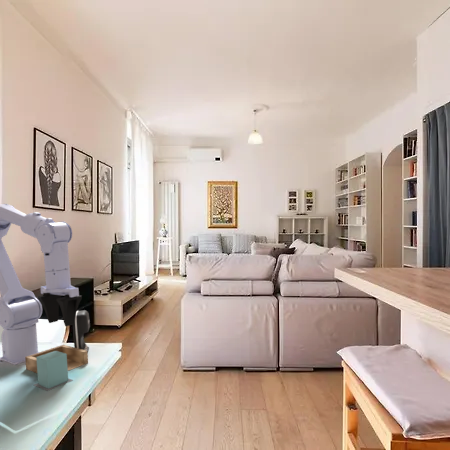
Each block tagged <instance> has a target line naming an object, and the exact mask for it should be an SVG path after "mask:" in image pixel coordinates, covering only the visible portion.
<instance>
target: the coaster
mask: <svg viewBox="0 0 450 450" xmlns="http://www.w3.org/2000/svg"><path fill="white" fill-rule="evenodd" d="M73 381H74V380H73V379H71V378H69V377H68V381H66V382H64V383H61V384H59V385H56V386H54V387H51V388H49V389H48V388H46V387H44V386H41V385H39V384H38V382H37V383H35V384H33V386H34V387H35V388H36V387H37V388H39V389H41V390H43V391H46V392H48V391H50V390H53V389H56V388H59V387H61V386H62V385H65V384H68V383H70V382H73Z"/></svg>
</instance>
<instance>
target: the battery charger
mask: <svg viewBox="0 0 450 450" xmlns="http://www.w3.org/2000/svg"><path fill="white" fill-rule="evenodd" d="M90 322H91V321H90V313H89V311H87V310H85V309H84V310H77V312H76V317H75V322H74V324H73V325H72V333H73V347H74V348H78V349H82V350H86V351H87V353H88V354H89V350H90V346H88V345H87V343H86V342H85V340H84V338H85V337H84V334H86V333H89V330H90V328H91V323H90Z"/></svg>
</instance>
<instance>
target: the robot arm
mask: <svg viewBox="0 0 450 450" xmlns="http://www.w3.org/2000/svg"><path fill="white" fill-rule="evenodd" d="M12 224H13V225H16V226H18V227H20V230H21V232H22V233H23V234H26V235H28V236H31V238H35V239H36V240H37V242H38V244H39V245H40V251H41V253H43V263H44V278H45V285H43V286H42V285H41V286H40V294H41V296H38V297H36V295H35V294H34V292H33V291H31V290H29V289H26V288H24V287H23V286H22V284H21V281H20V279H19V277H18V274H17V272H16V270H15V268H14V265H13V264H12V261H11V258H10V257H9V254H8V251H7V250H6V247H5V245H4V242H3V241H2V239H3V238H4V237H5V236H7V234H8V232H9V230H10V228H11V226H12ZM72 238H73V230H72V227H71V226H70V224H69V223H67V222H66V221H59V222H55V221H54V219H53V218H51V217H46V216H45V217H44V216H42V213H41V212H38V211H35V212H34V211H33V212H30V213H27V214H26V213H25V212H22V211H21V210H19V209H17V208H15V207H14V205H12V204H9V203H3V204H2V203H0V327H1V328H2V329H3V330H2V333H1V348H2V349H1V351H2V356H0V361H2V362H6V363H9V364H11V365H19V364H21V363H26V360H25V357H26V356H30V355H33V354H36V353H39V352H40V351H39V348H38V345H39V344H38V335H37V334H38V333H37V332H38V331H37V330H38V329H37V323H39V319H40V318H41V316H42V314H43V310H44V312H45V315H46V318H47V321H48V323H49V324H53V323H56V322H59V317H60V316H59V313H60V312H59V311H60V310H61V314H62V319H63V324H64V326H65V327H69V326H73V324H74V322H75V317H76V312H77V311H78V308H79V305H80V303H81V301H82V298H83V297H82V296H83V295H80V291H79V287H75V286H73V285H72V283H71V282H72V281H71V268H70V267H71V266H70V258H69V257H70V255H69V243H70V242H71V240H72ZM62 296H64V297H62ZM59 308H60V310H59Z"/></svg>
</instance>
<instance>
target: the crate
mask: <svg viewBox="0 0 450 450" xmlns="http://www.w3.org/2000/svg"><path fill="white" fill-rule="evenodd" d="M53 351H59V352H62V353H65V354H67V367H68V372H69V371H72V370H74V369H77V368H79V367H82V366H85V365H87V364H88V363H89V352H88V353H87V351H86V350H82V349H78V348H74V346H70V345H66V344H61V345H58V346H55V347H51V348H49V349H45V350H42V351H38V352H39V353H36V354H33V355H30V356H26V357H25V360H26V361H25V369H26V370H28V371H30V372H33V373H34V374H35V373H36V374H38V373H37V359H36V357H38V356H41V355H44V354H47V353H50V352H53Z"/></svg>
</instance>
